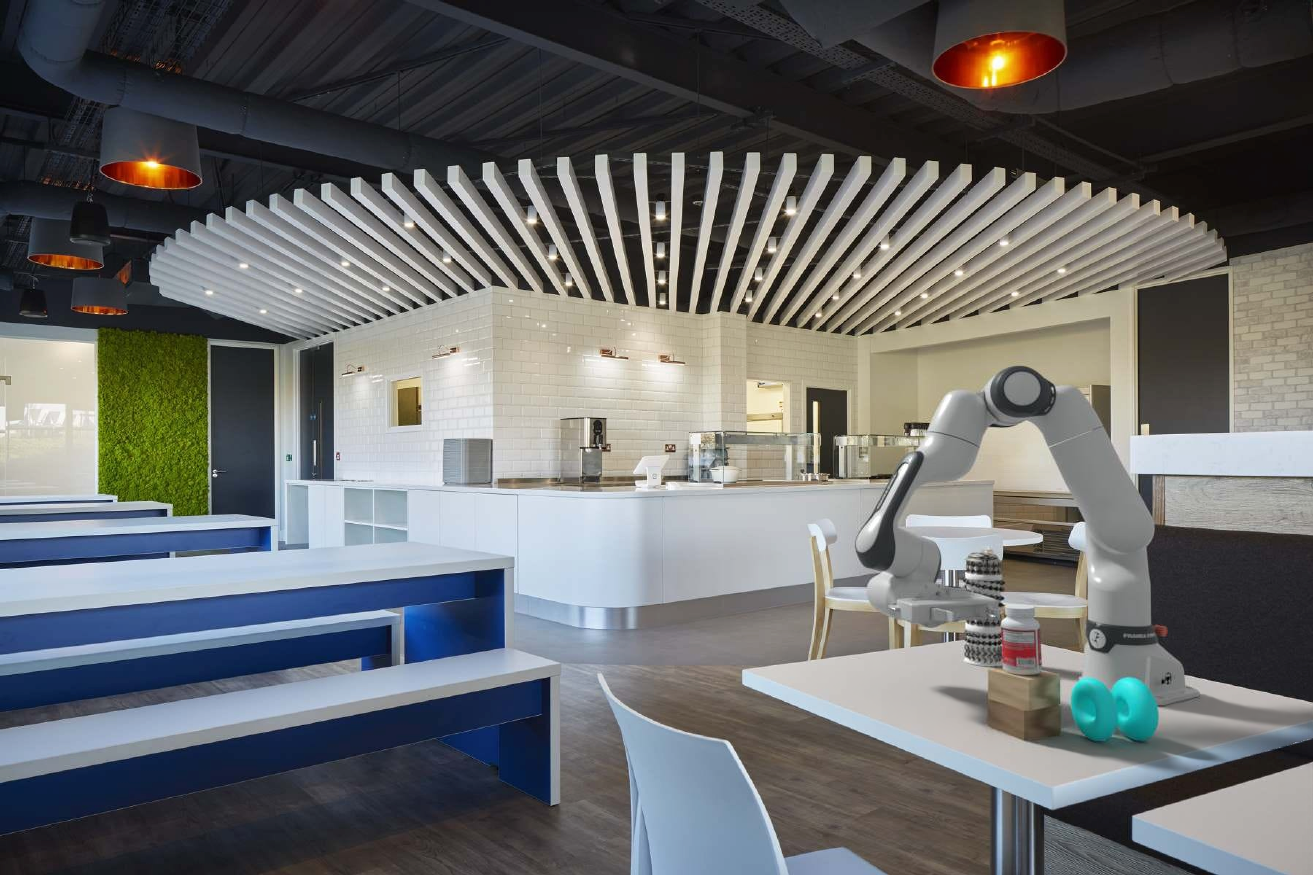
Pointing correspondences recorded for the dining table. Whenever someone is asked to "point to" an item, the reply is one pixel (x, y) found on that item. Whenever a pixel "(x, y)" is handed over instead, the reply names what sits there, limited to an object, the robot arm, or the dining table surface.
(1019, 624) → the pill bottle
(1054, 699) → the tower top
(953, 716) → the dining table surface
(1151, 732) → the turquoise spool
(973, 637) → the decorative candle
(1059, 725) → the tower base
